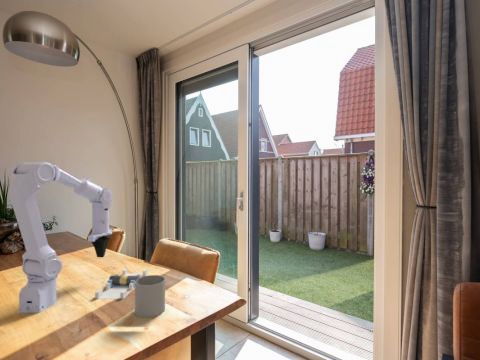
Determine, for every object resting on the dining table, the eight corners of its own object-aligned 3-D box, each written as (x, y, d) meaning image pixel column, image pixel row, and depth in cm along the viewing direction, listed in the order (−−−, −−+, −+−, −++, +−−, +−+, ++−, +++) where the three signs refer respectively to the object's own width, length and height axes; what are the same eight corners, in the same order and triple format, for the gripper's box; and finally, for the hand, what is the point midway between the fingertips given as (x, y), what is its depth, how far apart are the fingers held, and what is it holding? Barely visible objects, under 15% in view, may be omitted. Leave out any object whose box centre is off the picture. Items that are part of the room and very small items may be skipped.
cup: (154, 305, 89) (154, 273, 89) (170, 313, 84) (171, 279, 84) (129, 315, 83) (129, 280, 83) (145, 324, 77) (145, 287, 77)
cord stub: (140, 282, 105) (140, 274, 105) (136, 286, 102) (137, 277, 102) (112, 282, 105) (112, 274, 105) (108, 285, 102) (108, 276, 102)
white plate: (123, 302, 91) (123, 290, 91) (94, 301, 91) (94, 290, 91) (147, 276, 115) (147, 267, 115) (124, 276, 115) (125, 267, 115)
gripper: (102, 223, 100) (102, 262, 100) (119, 217, 114) (119, 251, 114) (81, 223, 100) (81, 262, 100) (101, 217, 114) (101, 251, 114)
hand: (100, 256), depth 107 cm, fingers closed
